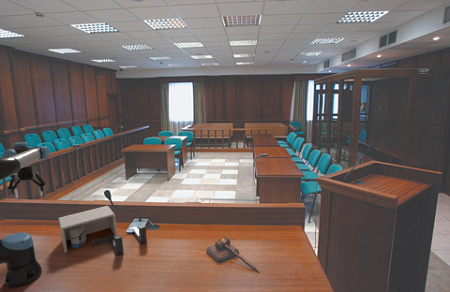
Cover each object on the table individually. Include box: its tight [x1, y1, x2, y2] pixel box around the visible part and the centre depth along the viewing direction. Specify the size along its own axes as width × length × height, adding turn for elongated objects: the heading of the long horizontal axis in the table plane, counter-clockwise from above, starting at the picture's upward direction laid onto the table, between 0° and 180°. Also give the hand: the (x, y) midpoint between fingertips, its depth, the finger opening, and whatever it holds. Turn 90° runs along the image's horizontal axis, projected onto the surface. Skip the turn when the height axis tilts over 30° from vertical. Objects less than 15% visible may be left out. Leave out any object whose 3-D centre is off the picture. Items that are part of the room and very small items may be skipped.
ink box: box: [70, 224, 87, 248], centre depth 163 cm, size 8×5×12 cm, turn 179°
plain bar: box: [131, 224, 148, 245], centre depth 170 cm, size 20×4×11 cm, turn 37°
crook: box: [92, 234, 125, 257], centre depth 156 cm, size 22×12×11 cm, turn 37°
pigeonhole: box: [58, 205, 118, 253], centre depth 168 cm, size 17×30×16 cm, turn 127°
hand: (29, 197), depth 170 cm, fingers open, 13 cm apart
